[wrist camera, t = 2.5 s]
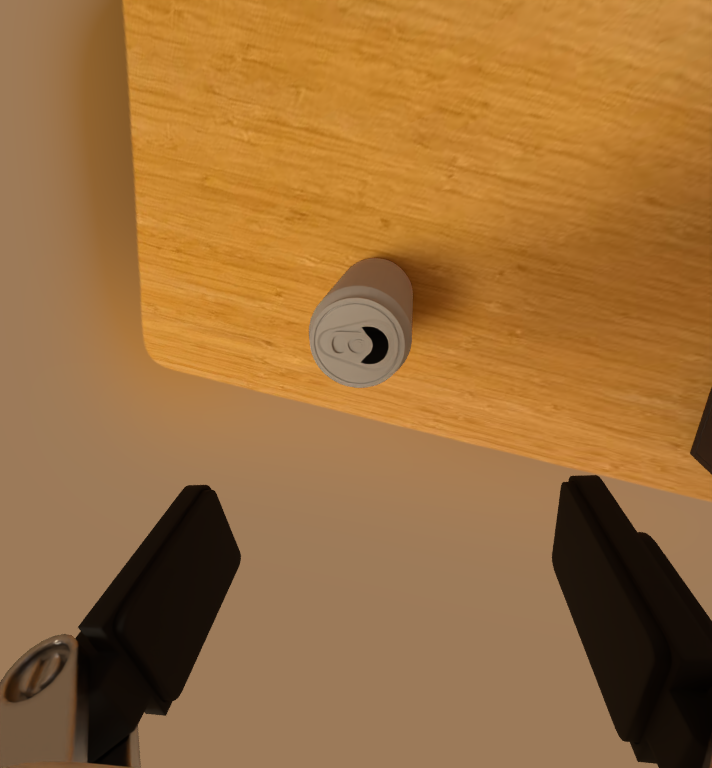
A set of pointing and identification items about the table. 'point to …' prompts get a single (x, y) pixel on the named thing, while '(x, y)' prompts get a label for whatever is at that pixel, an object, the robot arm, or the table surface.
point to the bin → (704, 438)
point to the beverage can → (364, 324)
